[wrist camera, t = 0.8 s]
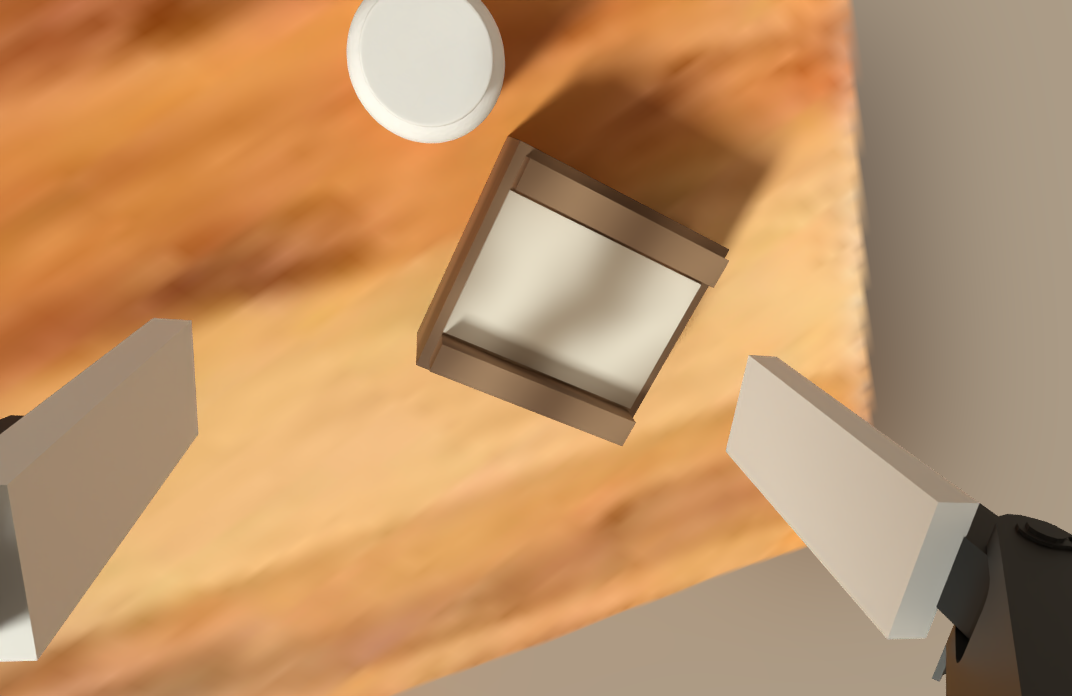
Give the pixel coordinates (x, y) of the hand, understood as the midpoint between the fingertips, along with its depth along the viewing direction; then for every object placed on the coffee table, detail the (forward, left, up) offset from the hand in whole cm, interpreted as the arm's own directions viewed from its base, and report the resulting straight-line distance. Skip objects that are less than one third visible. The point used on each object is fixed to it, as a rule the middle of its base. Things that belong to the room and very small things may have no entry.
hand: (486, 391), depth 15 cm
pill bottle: (-4, +7, -22) cm, 23 cm away
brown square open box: (+7, 0, -22) cm, 23 cm away
